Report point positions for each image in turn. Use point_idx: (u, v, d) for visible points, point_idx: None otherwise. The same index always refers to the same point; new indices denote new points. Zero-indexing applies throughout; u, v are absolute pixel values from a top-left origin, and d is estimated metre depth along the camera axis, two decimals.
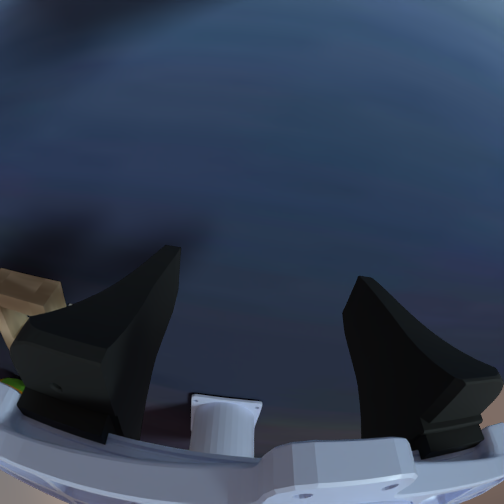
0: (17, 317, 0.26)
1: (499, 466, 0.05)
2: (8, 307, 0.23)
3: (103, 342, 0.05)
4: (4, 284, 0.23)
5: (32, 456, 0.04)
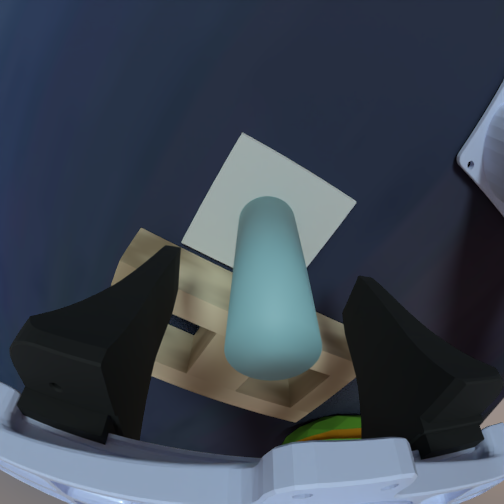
0: (172, 344, 0.20)
1: (499, 466, 0.05)
2: None
3: (103, 342, 0.05)
4: None
5: (32, 456, 0.04)
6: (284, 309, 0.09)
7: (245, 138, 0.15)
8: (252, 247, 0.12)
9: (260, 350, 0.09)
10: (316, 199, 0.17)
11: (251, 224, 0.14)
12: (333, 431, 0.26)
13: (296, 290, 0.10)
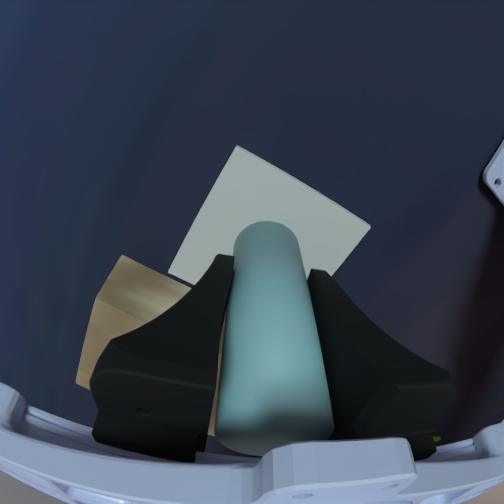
0: None
1: (499, 466, 0.05)
2: None
3: (208, 363, 0.06)
4: None
5: (32, 456, 0.04)
6: (289, 393, 0.07)
7: (240, 152, 0.12)
8: (248, 294, 0.10)
9: (258, 434, 0.07)
10: (324, 224, 0.14)
11: (247, 260, 0.12)
12: None
13: (305, 362, 0.08)
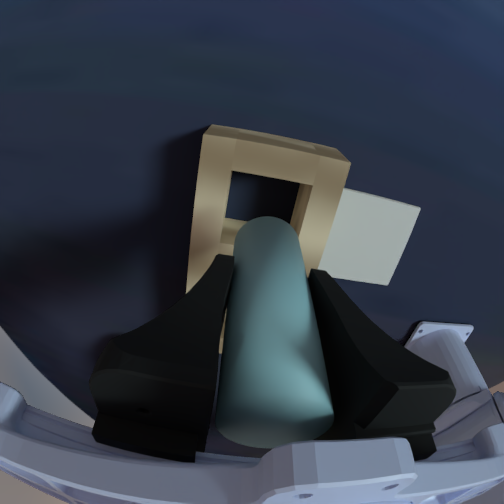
0: (225, 209, 0.20)
1: (499, 466, 0.05)
2: (258, 170, 0.17)
3: (208, 363, 0.06)
4: (246, 136, 0.17)
5: (32, 456, 0.04)
6: (295, 383, 0.07)
7: (418, 211, 0.21)
8: (253, 285, 0.10)
9: (259, 423, 0.07)
10: (386, 263, 0.24)
11: (251, 253, 0.12)
12: None
13: (309, 353, 0.08)
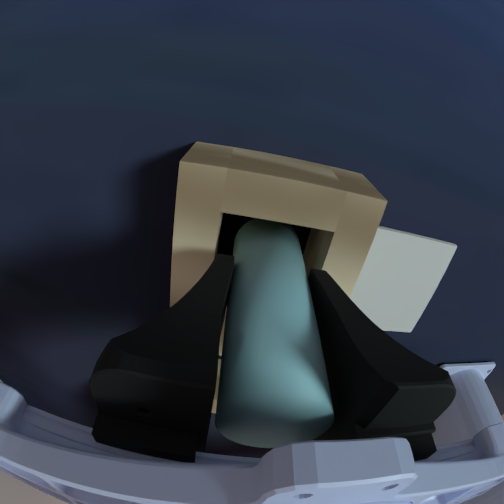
0: None
1: (499, 466, 0.05)
2: (259, 212, 0.12)
3: (208, 363, 0.06)
4: (242, 160, 0.12)
5: (32, 456, 0.04)
6: (295, 382, 0.07)
7: (454, 249, 0.16)
8: (253, 285, 0.10)
9: (259, 423, 0.07)
10: (411, 309, 0.19)
11: (251, 253, 0.12)
12: None
13: (309, 353, 0.08)
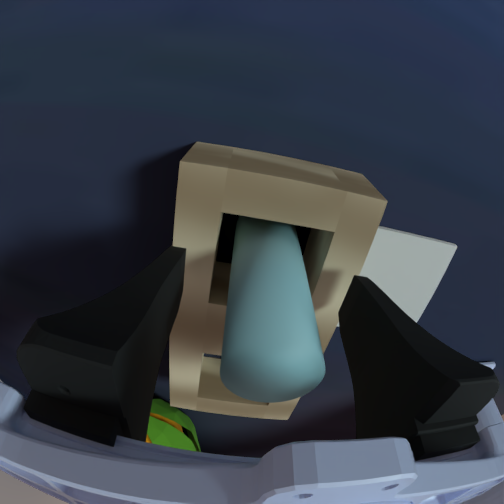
0: None
1: (499, 466, 0.05)
2: (259, 212, 0.12)
3: (113, 344, 0.05)
4: (242, 160, 0.12)
5: (32, 456, 0.04)
6: (290, 331, 0.08)
7: (454, 250, 0.16)
8: (253, 257, 0.11)
9: (259, 373, 0.09)
10: (411, 309, 0.19)
11: (251, 231, 0.13)
12: (181, 429, 0.24)
13: (301, 310, 0.09)
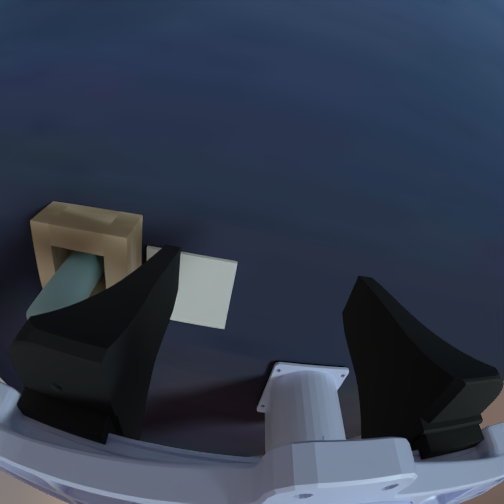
0: None
1: (499, 466, 0.05)
2: (66, 245, 0.20)
3: (103, 342, 0.05)
4: (62, 216, 0.20)
5: (32, 456, 0.04)
6: (44, 304, 0.16)
7: (235, 266, 0.24)
8: (59, 269, 0.19)
9: None
10: (215, 310, 0.27)
11: (70, 254, 0.21)
12: None
13: (58, 296, 0.17)
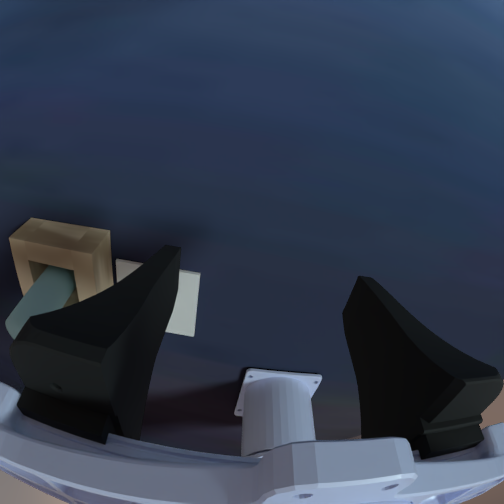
0: None
1: (499, 466, 0.05)
2: (40, 260, 0.21)
3: (103, 342, 0.05)
4: (37, 233, 0.21)
5: (32, 456, 0.04)
6: (19, 315, 0.17)
7: (197, 277, 0.25)
8: (35, 282, 0.20)
9: (17, 332, 0.17)
10: (183, 319, 0.27)
11: (46, 268, 0.22)
12: None
13: (32, 308, 0.18)
